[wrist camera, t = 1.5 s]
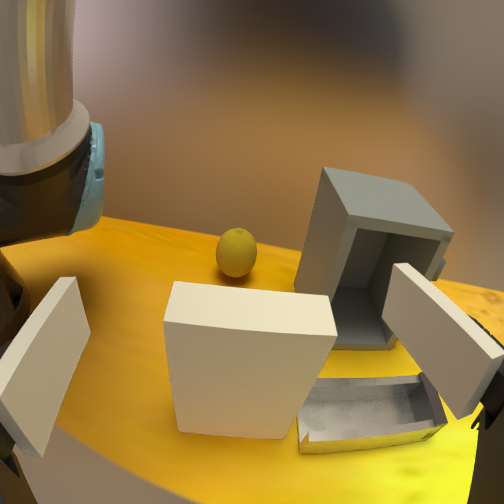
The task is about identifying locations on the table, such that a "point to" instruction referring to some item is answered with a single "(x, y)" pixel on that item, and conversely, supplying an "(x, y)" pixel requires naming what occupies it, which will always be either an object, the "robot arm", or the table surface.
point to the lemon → (236, 252)
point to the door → (243, 357)
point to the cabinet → (366, 250)
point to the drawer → (368, 413)
